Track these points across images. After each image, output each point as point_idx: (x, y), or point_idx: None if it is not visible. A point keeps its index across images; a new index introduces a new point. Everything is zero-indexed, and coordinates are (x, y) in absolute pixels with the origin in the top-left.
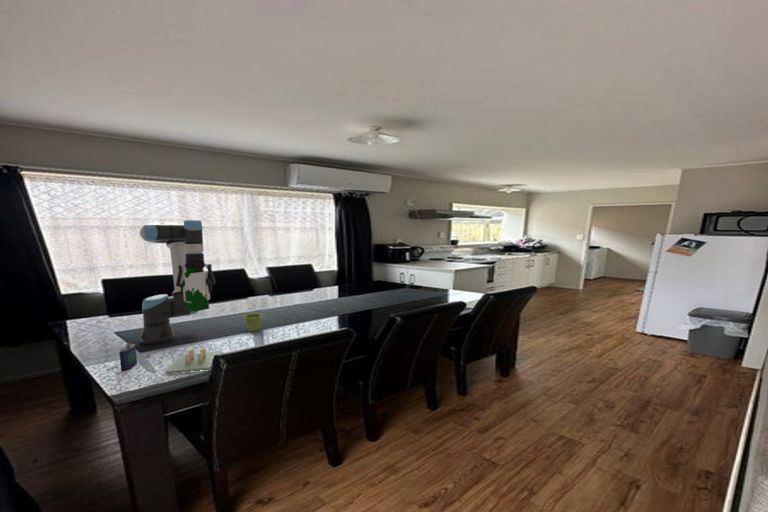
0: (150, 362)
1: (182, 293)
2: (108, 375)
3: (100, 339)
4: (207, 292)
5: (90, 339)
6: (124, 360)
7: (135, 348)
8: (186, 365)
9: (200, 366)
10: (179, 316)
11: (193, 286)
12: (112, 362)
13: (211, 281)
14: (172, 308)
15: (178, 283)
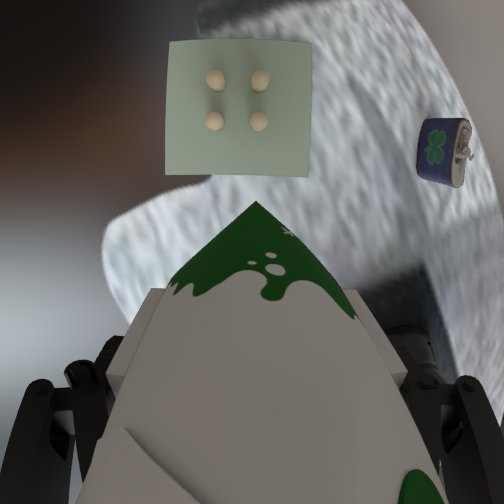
0: (385, 166)
1: (389, 338)
2: (450, 110)
3: (484, 363)
4: (136, 327)
5: (494, 364)
6: (443, 119)
7: (443, 175)
8: (259, 69)
9: (210, 52)
10: None
11: (268, 312)
12: (466, 205)
13: (44, 412)
14: None
15: (468, 401)
